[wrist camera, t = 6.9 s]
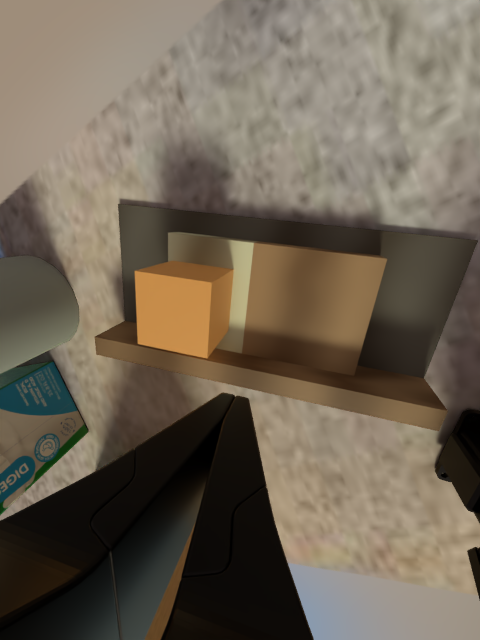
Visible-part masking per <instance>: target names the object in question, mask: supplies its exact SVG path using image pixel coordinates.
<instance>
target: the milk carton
mask: <svg viewBox="0 0 480 640" xmlns="http://www.w3.org/2000/svg"><path fill="white" fill-rule="evenodd" d="M87 433H88V430H87V428H86V426H85V424H84V422H83V420H82V418H81V416H80V414H79V412H78V410H77V408H76V406H75V404H74V402H73V400H72V398H71V396H70V394H69V392H68V390H67V388H66V386H65V384H64V382H63V380H62V378H61V376H60V374H59V372H58V370H57V368H56V366H55V364H54V362H53V361H51V362H45V363H40V364H34V365H29V366H23V367H18V368H12V369H10V370H8V371H5V372H3V373H1V374H0V515H1V514H2V513H3V512H4V511H5V510H6V509H7V508H8V507H9V506H10V505H12V504H13V503H14V502H15V501H16V500H17V499H18V498H19V497H20V496H21V495H22V494H23V493H24V492H25V491H26V490H27V489H29V488H30V487H31V486H32V485H33V484H34V483H35V482H36V481H37V480H38V479H39V478H40V477H41V476H42V475H43V474H44V473H45V472H47V471H48V470H49V469H50V468H51V467H52V466H53V465H54V464H55V463H56V462H57V461H58V460H59V459H60V458H61V457H62V456H64V455H65V454H66V453H67V452H68V451H69V450H70V449H71V448H72V447H73V446H74V445H75V444H76V443H77V442H78V441H79V440H80V439H82V438H83V437H84V436H85V435H86V434H87Z"/></svg>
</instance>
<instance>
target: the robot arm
mask: <svg viewBox="0 0 480 640" xmlns="http://www.w3.org/2000/svg"><path fill="white" fill-rule="evenodd" d="M470 416H473V417H472V418H469V417H470ZM439 460H440V461H439V463H438V465H437V467H436V469H435V472H436V474H437V476H438V478H439V479H441V480H444V481H448V482H452V484H453V486H454V487H455V489H456V491H457V493H458V495H459V497H460V498H461V500H462V502H463V504H464V506H465V507H466V508H467V510H468V511H471V512H474V514H475V516H476V518H477V519H478V521H479V523H480V411H477V410H472V409H469V410H465V411H464V412H463V413H462V415H461V417H460V419H459V421H458V423H457V425H456V427H455V429H454V431H453V433H452V434H451V435H450V437H449V439H448V441H447V443H446V446H445V448H444V450H443V452H442V454H441V456H440V458H439ZM442 473H443V474H442ZM195 522H196V523H195ZM194 524H195V527H194ZM193 527H194V530H193V534H192V538H191V542H190V545H189V549H188V553H187V557H186V560H185V564H184V568H183V572H182V575H181V581H180V583H179V587H178V590H177V594H176V597H175V601H174V604H173V607H172V610H171V614H170V617H169V620H168V622H167V625H166V628H165V630H164V633H163V635H162V637H161V640H314V639H313V636H312V633H311V630H310V628H309V625H308V622H307V619H306V616H305V613H304V610H303V607H302V605H301V601H300V598H299V595H298V593H297V589H296V586H295V583H294V580H293V578H292V575H291V572H290V569H289V566H288V563H287V560H286V557H285V554H284V551H283V548H282V544H281V541H280V538H279V535H278V531H277V528H276V525H275V521H274V517H273V513H272V508H271V504H270V500H269V495H268V490H267V488H266V481H265V476H264V471H263V466H262V461H261V457H260V452H259V447H258V442H257V437H256V432H255V427H254V422H253V417H252V413H251V408H250V403H249V399H248V398H246V397H241V396H236V397H235V396H234V395H233V394H228V393H221V394H219V395H218V396H216V397H215V398H213V399H211V400H210V401H208V402H207V403H205V404H203V405H202V406H200V407H199V408H197V409H196V410H194V411H192V412H191V413H189V414H188V415H186V416H184V417H183V418H181V419H180V420H178V421H177V422H175V423H173V424H172V425H170V426H169V427H167V428H165V429H164V430H162V431H161V432H159V433H157V434H156V435H154V436H153V437H151V438H150V439H148V440H146V441H145V442H143V443H142V444H140V445H138V446H137V447H136V448H135V450H134V449H132V450H130V451H129V452H127V453H126V454H124V455H122V456H121V457H119V458H117V459H116V460H114V461H112V462H111V463H109V464H107V465H106V466H104V467H102V468H101V469H99V470H97V471H95V472H93V473H92V474H90V475H88V476H86V477H84V478H82V479H81V480H79V481H77V482H75V483H73V484H71V485H69V486H67V487H65V488H63V489H61V490H60V491H58V492H56V493H54V494H52V495H50V496H48V497H46V498H44V499H42V500H40V501H38V502H36V503H35V504H33V505H31V506H29V507H27V508H25V509H23V510H21V511H19V512H17V513H15V514H13V515H11V516H9V517H7V518H5V519H3V520H1V521H0V640H145V637H146V635H147V633H148V630H149V628H150V626H151V623H152V621H153V619H154V616H155V614H156V612H157V610H158V607H159V605H160V603H161V600H162V598H163V596H164V593H165V591H166V589H167V587H168V584H169V582H170V580H171V577H172V575H173V573H174V570H175V568H176V566H177V563H178V561H179V559H180V557H181V554H182V552H183V550H184V547H185V545H186V543H187V540H188V538H189V536H190V534H191V531H192V529H193ZM467 552H468V556H469V560H470V564H471V568H472V572H473V575H474V579H475V583H476V587H477V591H478V595H479V599H480V547H479V548H477V547H474V548H472V549H470V550H468V551H467Z"/></svg>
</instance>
